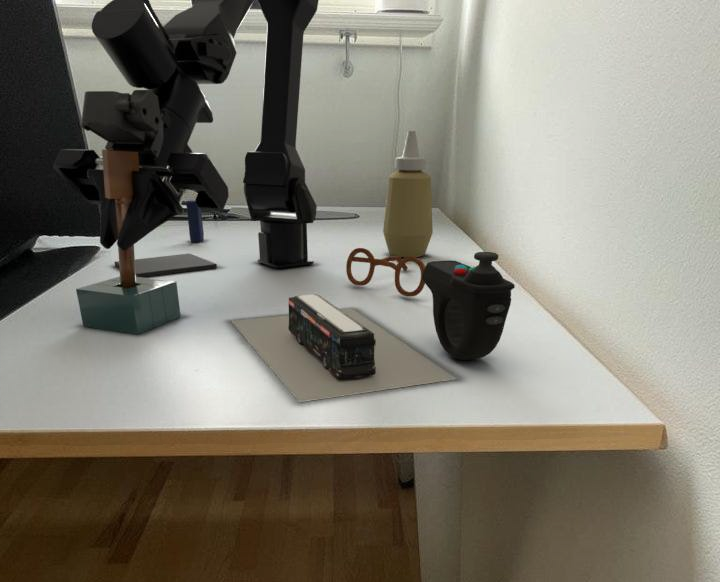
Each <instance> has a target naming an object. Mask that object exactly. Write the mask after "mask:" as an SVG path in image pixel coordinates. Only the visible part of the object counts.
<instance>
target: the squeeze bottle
mask: <svg viewBox="0 0 720 582" xmlns="http://www.w3.org/2000/svg"><path fill="white" fill-rule="evenodd" d="M403 146H404V147H403V151H402V156H399V157H398V156H397V157H395V167H394V168H395V170H396V171H394V172H392V173H391V174H390V175H389V177H388V184H387V193H386V201H385V208H384V209H385V211H384V217H383V219H384V220H383V228H382V232H383V233H382V234H383V237H384V241H385V243H386V247H387V251H388V255H390V256H399V257H400V258H402V259H403V258H406V257H415V258H419V257H423V256H425V255H426V252H427V249H428V248H429V243H430V241H431V239H432V236H433V232H434V231H433V229H434V228H433V203H432V202H433V201H432V177H431V176H430V174H428V173H427V172H424V171H425V170H426V160H427V159H426V157H422V156H420V153H419V152H420V151H419V146H418V138H417V131H416V130H408V131H407V134H406V138H405V142H404V145H403Z"/></svg>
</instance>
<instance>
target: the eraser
mask: <svg viewBox="0 0 720 582" xmlns="http://www.w3.org/2000/svg"><path fill="white" fill-rule="evenodd" d="M185 205H186V212H187V225H188V232H189V234H188V235H189V240H190V242H191V243H202V242H204V240H205V239H204V238H205V234H204V223H203V213H202V212H203V211H201V210H200V208H199V207H198V205H197V203H196V201H195V199H187V200H186V202H185Z"/></svg>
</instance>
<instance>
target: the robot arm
mask: <svg viewBox="0 0 720 582" xmlns="http://www.w3.org/2000/svg"><path fill="white" fill-rule="evenodd" d="M256 1H257V3H258V5H259V9H260V10H261V13H262V14H263V17H264V20H265V21H266V39H265V40H266V41H265V42H266V43H265V58H264V59H265V60H264V74H263V75H264V76H263V93H262V94H263V95H262V110H261V111H262V112H261V129H260V130H261V131H260V141H259V143H258V145H257V146H256V148H255V150H254V151H246V155H245V157H244V177H243V181H242V183H243V193H244V198H245V202H246V205H247V209H248V213H249V217H250V220H251V221H252V222H259V226H260V231H259V232H258V234H257V235H258V236H257V237H258V238H257V239H258V252H259V258H257V263H260V264H263V265H266V266H269V267H272V268H274V269H285V268H291V267H292V268H293V267H300V266H307V265H313V264H314V260H312V259H309V256H308V255H309V253H308V250H309V249H308V224H313V223H314V222H315V221H316V216H317V208H318V207H317V203H316V201H315V198H314V197H313V195H312V193H311V191H310V189H309V188H308V185H307V183H306V169H305V166H304V164H303V162H302V160H301V157H300V155H299V153H298V150H297V147H296V146H297V131H298V130H297V129H298V116H299V103H300V89H301V75H302V73H301V72H302V63H303V62H302V61H303V48H304V34H305V31H306V30H307V27H308V26H309V24H310V23H311V21H312V20H313V18H314V17H315V15H316V13H317V11H318V6H319V0H256ZM254 2H255V0H197V2H195V3H194V4H193V6H191V7H189V8H187V9H185V10H183V11H181V12H179V13H177V14H175V15H173V17H172V18H171V19H170V20H168V22H167V23H165V24H164V25H163V24H162V23H161V21H160V19H159V17H158V16H157V14H156V12H155V11H154V9H153V6H152V4H151V2H150V0H111V1H109V2H108V3H107V4H106V5H104V6H103V8H101V10H98V11H97V12H96V13H95V14H94V16H93V18H92V21H91V31H92V33H93V35H94V36H95V38H96V39H97V41H98V42H99V44H100V45H101V46H102V48H103V49H104V51H105V52H106V54H107V55H108V56H109V58H110V60H111V61H112V62H113V63H114V65H115V67H116V68H117V69H118V71H119V72H120V74H121V76H122V77H123V78H124V80H125V81H126V82H127V84H128V85H129V86H131V87H132V88H136V89H134V90H133V91H132V93H131V94H130V93H129V92H119V91H115V90H90V91H89V90H88V91H85V92H84V97H83V105H82V113H81V114H82V115H81V120H80V121H81V123H80V127H81V128H82V129H83V130H85V131H86V132H89V131H90V132H91V133H93V134H95V135H96V136H98V137H99V138H101V139H103V140H104V141H106V144H105V146H104V149H105V150H121V151H134V152H138V160H139V171H132V181H133V198H132V199H131V203H130V205H129V208H128V211H127V213H126V216H125V219H124V221H123V224H122V227H121V230H120V233H119V237H118V238H117V223H116V208H115V199H109V198H106V197H105V186H104V172H103V158H101V157H100V156H99V155H98V153H97V152H96V151H95V150H94V149H82V148H81V149H80V148H79V149H77V148H76V149H75V148H66V149H63V148H62V149H60V150H59V152H58V154H57V156H56V158H55V160H54V162H53V169H54V170H55V171H56V172H57V173H58V174H59V175H60V176H61V177H62V178H63V180H64V181H66V183H68V185H70V187H71V188H72V189H73V190H74V191H75V192H76V193H77V194H78V195H79V196H80V198H82V200H84V201H85V202H87V203H89V204H93V205H99V206H100V212H99V213H100V215H99V216H100V217H99V218H100V219H99V220H100V221H99V224H100V225H99V226H100V227H99V243H100V245H101V246H102V247H103V248H104V249H105V250H110V249H111V248H112V247H113V245H114V244H116V246H117V248H118V247H119V248H120V249H121V250H124V251H125V250H127V249H128V248H130V247H131V246H132V245H134V246H135V244H137V243H138V242H139V241H141V240H142V239H143V238H145V237H146V236H147V235H149V234H150V233H152V232H153V231H154V230H156V229H157V228H158V227H160V226H162V225H163V224H165V223H167V222H168V221H169V220H171V219H172V218H174V217H176V216H182V215H183V214H184V212H185V209H184V208H183V206H182V203H183V200H184V199H185V197H188V195H189V192H188V191H196V193H197V195H196V197H195V199H194V200H195V201H196V203H197V205H198V207H199V208H200V210H201V212H213V213H214V212H216V213H222V212H223V211H224V209H225V207H226V204H227V202H228V198H229V196H230V195H229V187H228V185H227V184H226V182H225V180H224V179H223V177H222V175H221V174H220V172H219V171H218V169H217V168H216V166H215V165H214V163H213V162H212V160H211V159H210V157H209V155H208V154H207V152H193V150H192V149H191V147H190V146H189V141H190V139H191V136H192V134H193V132H194V129H195V127H196V125H197V124H212V123H213V122H214V116H213V115H214V114H213V111H212V109H211V107H210V105H209V99H208V97H207V96H206V95H204V92H203V91H202V89H201V88H200V86H199V85H221V84H223V83H225V81H227V79H228V77H229V75H230V73H231V69H232V66H233V64H234V61H235V59H236V56H237V48H236V43H235V36H236V33H237V31H238V30H239V28H240V27H241V24H242V23H243V21H244V19H245V18H246V16H247V14H248V12H249V11H250V8H251V7H252V5H253V3H254Z"/></svg>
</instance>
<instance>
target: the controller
mask: <svg viewBox="0 0 720 582" xmlns="http://www.w3.org/2000/svg"><path fill="white" fill-rule="evenodd" d="M473 258H474V260H476V261H478V265H476V266H470V265H467V264H465V263H462V262H459V261H456V260H436V261H435V260H433V261H428V262H427V263H426V265H425V269H424V271H423V274H422V279H423V281H424V283H425V286H427V288H428V289H429V290H430V292H431V295H432V315H433V323H434V328H435V332H436V336H437V338H438V340H439V343H440V345H441V347H442V348H443V350H444V352H446V353H447V354H448V355H449V356H450V357H452V358H454V359H456V360H460V361H461V360H462V361H469V360H476V359H477V360H478V359H481V358H484V357H486V356H488V355H490V354H491V353H492V352H493V351H494V350H495V349H496V347H497V346H498V344H499V342H500V341H501V337H502V335H503V332H504V328H505V324H506V320H507V316H508V313H509V310H510V307H511V303H512V290H514V289H515V288H516V285H515V284H514V283H513V282H511V281H510V280H508V279H506V278H504V277H503V275H502V274H501V272H500V271H499V270H497V268H496V267H495V266H493V262H496V261H497V260H499V254H498V253H496V252H492V251H477V252H475V253H474V255H473Z"/></svg>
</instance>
